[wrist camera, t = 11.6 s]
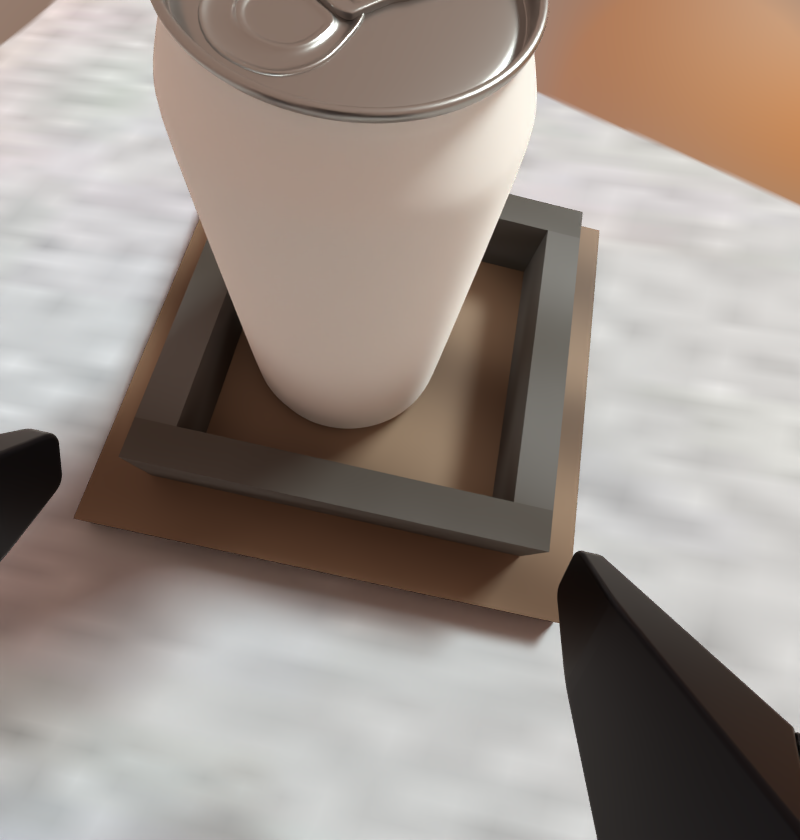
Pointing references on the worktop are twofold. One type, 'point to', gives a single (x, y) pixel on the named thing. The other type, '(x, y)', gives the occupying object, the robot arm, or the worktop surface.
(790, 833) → the robot arm
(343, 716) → the worktop surface
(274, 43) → the can
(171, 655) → the worktop surface
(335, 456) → the socket
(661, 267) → the worktop surface
